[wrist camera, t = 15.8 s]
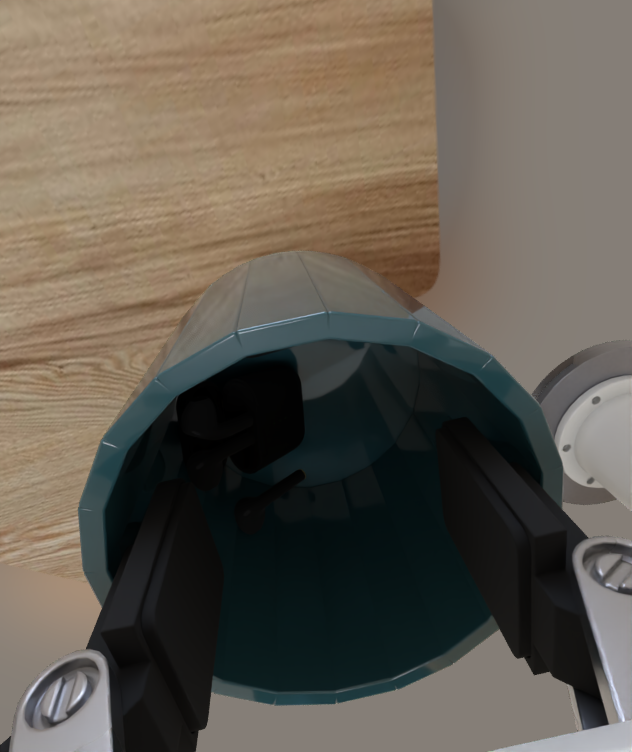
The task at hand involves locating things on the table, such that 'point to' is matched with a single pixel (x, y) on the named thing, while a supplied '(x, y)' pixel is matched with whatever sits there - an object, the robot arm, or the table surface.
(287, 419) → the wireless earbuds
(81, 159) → the table surface
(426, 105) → the table surface
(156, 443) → the tumbler
